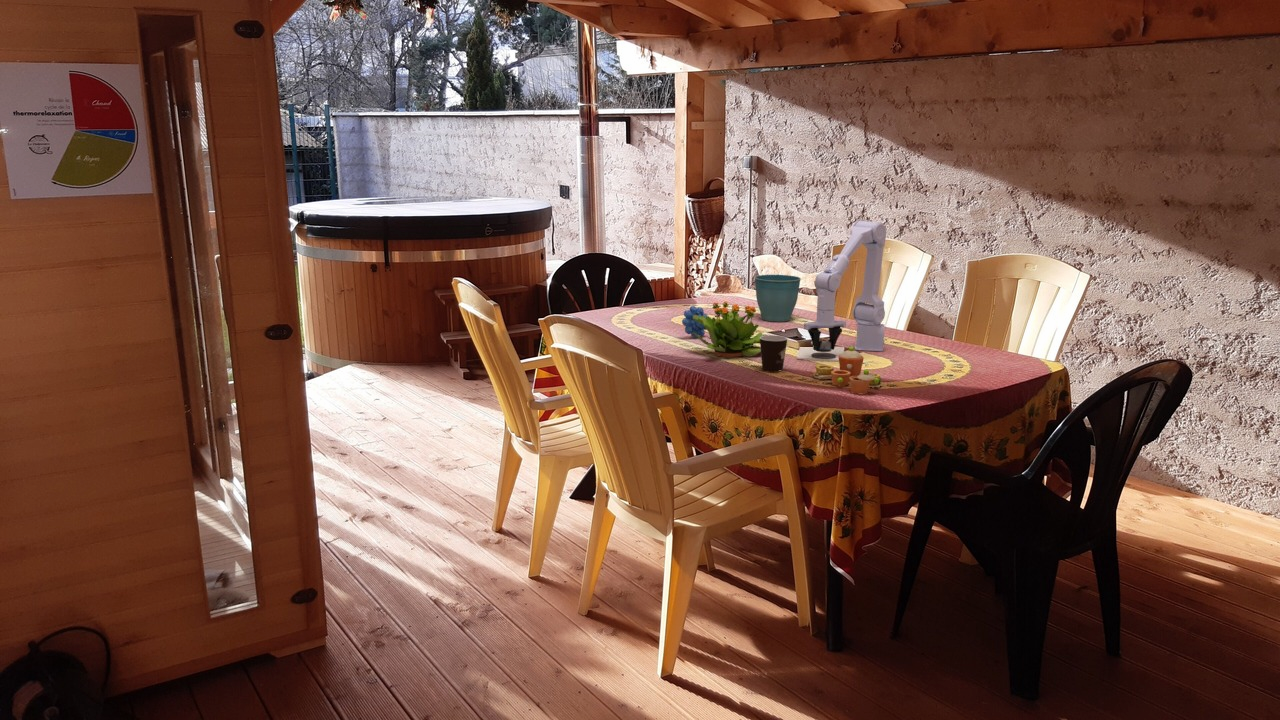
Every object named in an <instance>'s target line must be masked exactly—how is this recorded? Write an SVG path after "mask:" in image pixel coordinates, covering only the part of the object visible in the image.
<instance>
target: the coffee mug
mask: <svg viewBox="0 0 1280 720" xmlns="http://www.w3.org/2000/svg"><path fill="white" fill-rule="evenodd" d="M766 335H767V336H761V337H760V344H759V345H760V346H759V347H761V352H760V358H761V367H762V368H761V369H762V370H763V371H765V370H766V372H771V371H776V372H780V371H779V370H782V369H784V365H785V364H784V363H785V357H786V350H787V344H788V338H787V337H786V336H783V335H775V334H774V335H772V334H770V335H768V334H766ZM782 371H783V370H782Z"/></svg>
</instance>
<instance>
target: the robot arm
mask: <svg viewBox="0 0 1280 720" xmlns="http://www.w3.org/2000/svg"><path fill="white" fill-rule="evenodd" d="M886 236H887V228H886V226H885V225H884V223H883V222H882V221H868V220H867V221H866V220H860V219H859V220H856V221H854V223H853V225H852V226H851V228H850V236H849V238H847V239H848V240H847V241H846V242H845V245H844V247H842V250H841V252H840V253H839V254H835V255H833V257H832V259H831V260H830V261H829V263H828V264H827V266H826V267H825V269H824V270H823V271H821V272H819V273H818V274H816V276H815V280H814V281H813V282H814V283H813V284H814V287H815V289H816V291H815V293H816V295H817V302H816V320H815V321H808V322H803V329H804V330H806V331H807V332H808V334H809V336H810V339H811V342H812V343H813V344H812V345H813V348H814V350H816V351H818V350H819V339H820V338H821V333H822V331H820V330H819V329H828V335H829V338H828V339H831V340H832V350H834V348H835V347H836V344H837V341H838V339H839V338H840V336H841V334H842V332H843V328H847V321H846V320H835V315H836V314H835V311H836V309H835V308H836V295H837V293H836V292H837V290H838V289H839V288H840V285H841V281H842V278H843V277H842V276H843V275H844V274H845V272H846V271H847V269H848V268H849V266H850V259H851V258H852V257H853V256H854V254H855V253H856V252H857V251H858V249H859V248H860V247H861V246H862V245H863V246H864V247H865V248H866V255H865V256H866V258H865V267H864V275H863V283H862V284H863V285H862V291H861V292H862V293H861V295H860V296H858V297H857V298H856V299H855V303H854V305H853V306H854V307H853V308H852V317H853V319H854V320H855V323H857V325H856V337H855V340H856V341H855V342H856V343H855V344H854V351H869V352H872V351H873V352H884V346H885V324H884V323H882V322H883V321H884V319H885V315H886V311H885V302H884V301H883V299H882V298H881V297H880V296H879V291H880V282H881V274H882V273H881V272H882V267H883V265H882V264H883V256H884V249H885V245H886Z"/></svg>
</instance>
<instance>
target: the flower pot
mask: <svg viewBox="0 0 1280 720" xmlns="http://www.w3.org/2000/svg"><path fill="white" fill-rule="evenodd" d="M801 279H802V278H801V277H799V276H796V275H795V276H794V275H788V274H759V275H755V276H754V281H755V284H754V285H755V296H756V302H757V306H758V309H759V312H760V319H761V320H762V321H767V322H775V323H776V322H778V323H779V322H781V323H782V322H783V323H784V322H789V321H791V320H792V315H793V312H794V309H795V308H796V304H797V302H798V298H799V290H800V282H801Z"/></svg>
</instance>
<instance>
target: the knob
mask: <svg viewBox="0 0 1280 720" xmlns="http://www.w3.org/2000/svg"><path fill="white" fill-rule="evenodd" d="M831 349H832V340H831V339H829V338H824V337H820V339H819V350H818V351H819V352H830V351H831Z"/></svg>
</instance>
